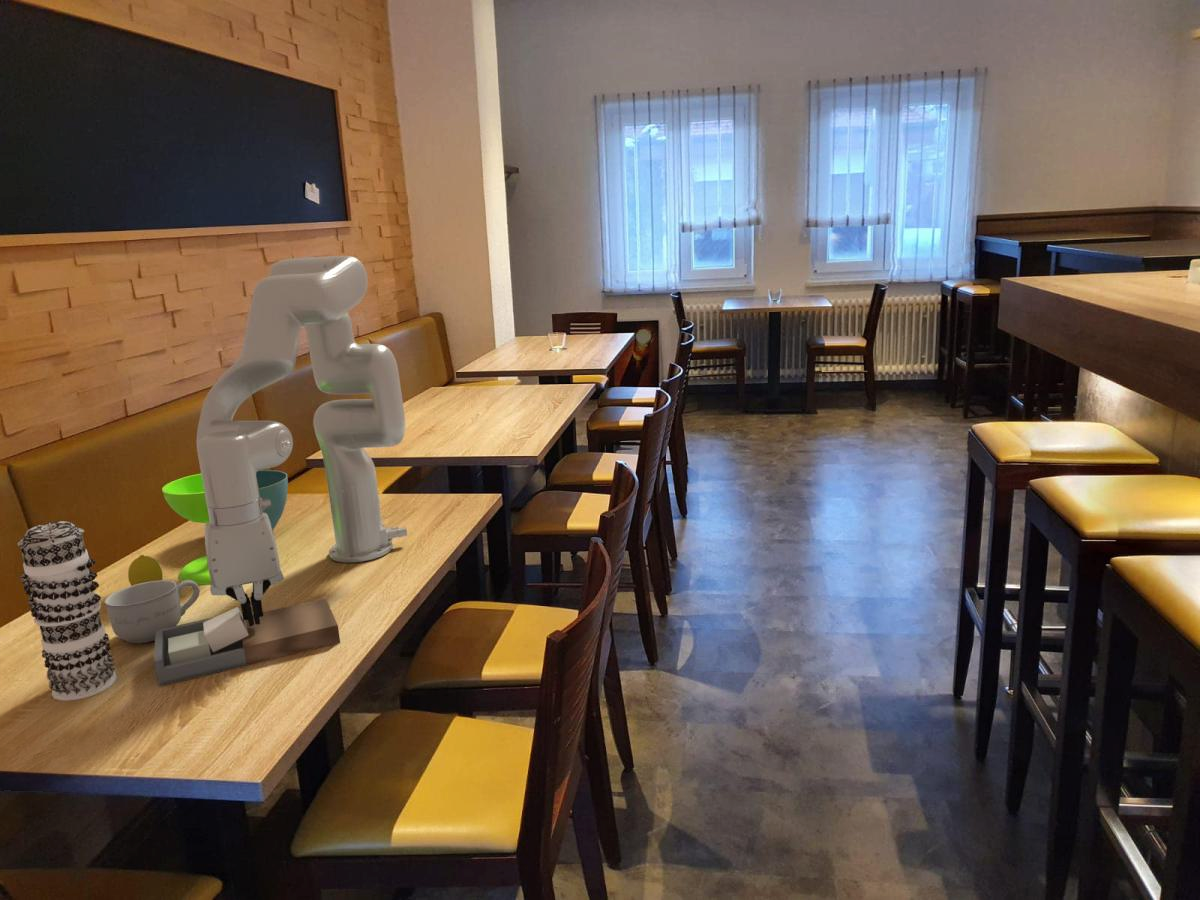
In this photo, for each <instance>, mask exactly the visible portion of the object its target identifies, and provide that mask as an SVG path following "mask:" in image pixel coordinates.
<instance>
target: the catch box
mask: <svg viewBox="0 0 1200 900" xmlns="http://www.w3.org/2000/svg"><path fill="white" fill-rule="evenodd" d="M214 617H215V616H213V617H210V618H205V619H201V620H195V621H192V622H191V621H190V622H186V623H183V624H182V623H181V624H177V625H176V626H172V627H168V628H163V629H158V630H155V640H154V655H153V657H154V659H153V660H154V667H155V671H156V676H157V682H158V687H159V688H160V687H163V686H167V685H172V684H175V683H180V682H184V681H188V680H191V679H196V678H199V677H200V678H201V677H204V676H209V675H212V674H213V675H214V674H216V673H217V674H218V673H220V672H225V671H229V670H232V669H237V668H240V667H241V668H242V667H246V666H247V665H246V659H245V654H244V648H243V643H242V639H240V640H238V641H236V642H234V643H232V644H230V645H228V646H226V647H223V648H221V649H219V650H217V651H215V652H213V651H212V649H211V647H210V652H211V656H206V657H202V658H198V659H194V660H190V661H185V662H181V663H177V664H173V665H171V663H170V658H169V653H168V638H172V637H177V636H181V635H185V634H190V633H194V632H199V631H203V630H204V626H203V622H206V621H208V620H210V619H212V618H214Z"/></svg>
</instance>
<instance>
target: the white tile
mask: <svg viewBox="0 0 1200 900" xmlns="http://www.w3.org/2000/svg"><path fill="white" fill-rule="evenodd" d="M213 617H214V618H213ZM213 617H211V618H212V619H210V620H208V621H206V622H203V626H204V635H205V638H206V640H207V642H208V643H209V645H210V647H211V649H212V651H213V652H215V651H217V650H219V649H221V648H223V647H226V646H228V645H230V644H232V643H234V642H236V641H238V640H240V639H242V638H245V637H247V636H249V634H248V630H247V625H246V622H245V620H243V615H242V611H241V610H240V608H239V606H236V607H234V608H232V609H230V610H227V611H226V612H223V613H222V614H219V615H216V616H213Z"/></svg>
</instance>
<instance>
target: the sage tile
mask: <svg viewBox="0 0 1200 900" xmlns="http://www.w3.org/2000/svg"><path fill="white" fill-rule="evenodd" d="M168 653H169V658H170V663H171V665H173V664H177V663H181V662H185V661H190V660H194V659H198V658H202V657H206V656H211V652H210V645H209V643H208V642H207V640H206V638H205V635H204V630H203V631H199V632H194V633H190V634H185V635H181V636H177V637H172V638H168Z"/></svg>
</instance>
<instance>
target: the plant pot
mask: <svg viewBox="0 0 1200 900" xmlns="http://www.w3.org/2000/svg"><path fill="white" fill-rule="evenodd" d="M256 477H257V484H258V490H259V496H260V498H262V499H265V500H266V499H270V501H271V507H269V508H267V509H264V511H262V512H263V513H266V514H267V515H268V517H269V520H270V523H271V526H272V530H273V531H274V529H275V528H276V526H277V524H278V523H279V521H280V520H281V517H282V516H283V513H284V510H285V507H286V503H287V498H288V491H289V480H288V474H287V473H286V472H283V471H280V470H272V469H271V470H269V469H264V470H260V471H257V472H256Z"/></svg>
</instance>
